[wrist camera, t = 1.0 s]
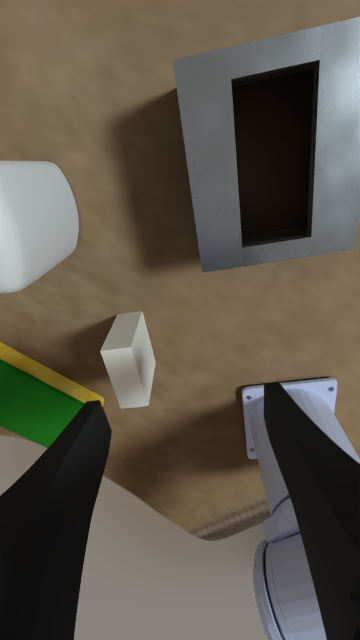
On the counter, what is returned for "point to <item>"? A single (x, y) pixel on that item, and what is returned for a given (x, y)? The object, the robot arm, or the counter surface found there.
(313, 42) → the slot box
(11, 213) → the eye dropper bottle
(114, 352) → the block
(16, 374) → the dish sponge
